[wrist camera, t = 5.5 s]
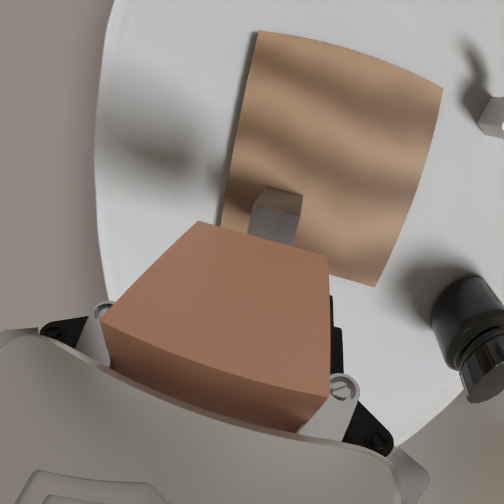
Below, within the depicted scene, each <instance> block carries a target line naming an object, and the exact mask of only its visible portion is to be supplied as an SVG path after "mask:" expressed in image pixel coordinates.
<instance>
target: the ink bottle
mask: <svg viewBox="0 0 504 504" xmlns="http://www.w3.org/2000/svg"><path fill="white" fill-rule="evenodd" d="M431 325H432V328H433V331H434V333H435V336H436V339H437V341H438V344H439V347H440V349H441V352H442V355H443V358H444V360H445V363H446V364H447V366H448V367H449V368H451V369H453V370H456V371H459V374H460V378H461V381H462V384H463V387H464V391H465V394H466V397H467V400H468V401H469V402H470V403H480V402H483V401H487V400H489V399H490V398H492V397H494V396H496V395H498V394H499V393H500V392H502V391H503V390H504V305H503V304H502V302H501V301H500V300H499V298H498V297H497V295H496V294H495V293H494V291H493V290H492V289H491V287H490V286H489V285H488V283H487V282H486V281H485V280H483V279H481V278H479V277H466V278H462V279H460V280H458V281H456V282H454V283H452V284H451V285H450V286H448V287H447V288H446V289H445V290H444V291H443V293H442V294H441V295H440V297H439V298H438V300H437V301H436V303H435V305H434V308H433V311H432V315H431Z"/></svg>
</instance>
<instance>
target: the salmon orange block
mask: <svg viewBox="0 0 504 504" xmlns="http://www.w3.org/2000/svg"><path fill="white" fill-rule="evenodd" d="M99 321H100V325H101V329H102V333H103V336H104V340H105V344H106V347H107V350H108V354H109V355H110V356H111V357H112V359H113V362H114V365H115V369H114V371H116V372H118V373H120V374H122V375H124V376H126V377H128V378H130V379H132V380H134V381H136V382H138V383H140V384H142V385H145V386H147V387H149V388H151V389H154V390H156V391H158V392H161V393H163V394H165V395H168V396H170V397H173V398H175V399H178V400H180V401H183V402H186V403H188V404H191V405H194V406H196V407H199V408H202V409H205V410H208V411H211V412H214V413H217V414H220V415H223V416H227V417H230V418H233V419H237V420H240V421H244V422H248V423H251V424H255V425H259V426H263V427H267V428H272V429H276V430H281V431H286V432H291V433H295V431H296V430H297V428H298V427H299V426H300V425H301V424H302V423H303V422H304V423H307V422H308V421H309V420H310V419H311V418H312V417H313V416H314V415H315V413H316V412H317V411H318V410H319V409H320V408H321V406H322V405H323V404H324V403H325V402H326V400H327V399H328V398H329V389H330V295H329V273H328V257H327V256H324V255H320V254H317V253H313V252H310V251H306V250H303V249H299V248H295V247H292V246H288V245H285V244H281V243H278V242H274V241H271V240H267V239H263V238H260V237H256V236H252V235H249V234H245V233H241V232H238V231H234V230H230V229H227V228H223V227H219V226H216V225H212V224H208V223H204V222H201V221H197V222H196V223H195V224H194V225H193V226H192V227H191V228H190V229H189V230H188V231H187V232H186V233H184V234H183V235H182V236H181V237H180V238H179V239H178V240H177V241H176V242H175V243H174V244H173V245H172V246H171V247H170V248H169V249H168V250H167V251H166V252H165V253H164V254H163V255H162V256H161V257H160V258H159V259H158V260H156V261H155V262H154V263H153V264H152V265H151V266H150V267H149V268H148V269H147V270H146V271H145V272H144V273H143V274H142V275H141V277H140V278H139V279H138V280H137V281H136V282H135V283H134V284H133V285H132V286H131V287H130V288H129V289H128V290H127V291H126V292H125V293H124V294H123V295H122V296H121V297H120V298H119V299H118V300H117V301H116V303H115V304H114V305H113V306H112V307H111V308H110V309H109V310H108V311H107V312H106V313H105V314H104V315H103V317H102V318H101V319H100V320H99Z"/></svg>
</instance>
